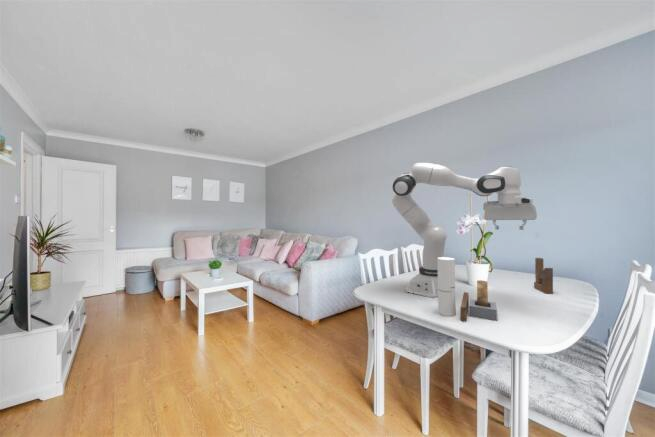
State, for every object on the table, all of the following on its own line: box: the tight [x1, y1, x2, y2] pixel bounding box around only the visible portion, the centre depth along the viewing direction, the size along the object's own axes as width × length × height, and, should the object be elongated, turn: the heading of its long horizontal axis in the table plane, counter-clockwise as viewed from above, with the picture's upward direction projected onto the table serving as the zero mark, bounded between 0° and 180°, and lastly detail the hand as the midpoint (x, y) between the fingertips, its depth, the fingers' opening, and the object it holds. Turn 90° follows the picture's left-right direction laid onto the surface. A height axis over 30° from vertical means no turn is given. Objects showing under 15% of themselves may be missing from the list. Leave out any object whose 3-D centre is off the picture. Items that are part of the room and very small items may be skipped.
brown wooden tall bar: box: [476, 280, 489, 307], centre depth 111 cm, size 4×4×14 cm
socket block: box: [468, 298, 498, 322], centre depth 110 cm, size 10×10×5 cm
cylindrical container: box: [437, 256, 457, 317], centre depth 112 cm, size 7×7×25 cm
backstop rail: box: [460, 291, 470, 322], centre depth 113 cm, size 2×22×6 cm, turn 148°
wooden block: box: [533, 257, 554, 295], centre depth 140 cm, size 4×11×18 cm, turn 167°
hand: (509, 229), depth 118 cm, fingers open, 8 cm apart
